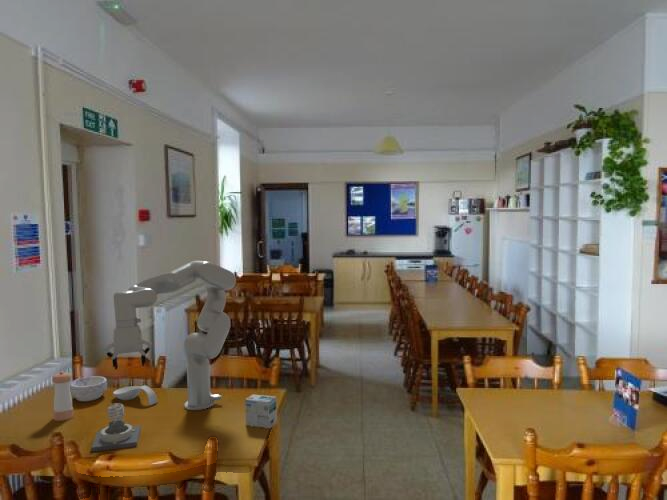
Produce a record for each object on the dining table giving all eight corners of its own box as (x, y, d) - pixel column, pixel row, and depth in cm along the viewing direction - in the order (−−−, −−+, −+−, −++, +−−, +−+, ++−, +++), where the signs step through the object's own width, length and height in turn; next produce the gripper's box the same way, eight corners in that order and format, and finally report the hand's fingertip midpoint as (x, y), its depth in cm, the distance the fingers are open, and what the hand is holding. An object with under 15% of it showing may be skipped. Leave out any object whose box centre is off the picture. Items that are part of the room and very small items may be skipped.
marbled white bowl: (98, 404, 229) (97, 386, 228) (63, 404, 229) (62, 386, 228) (113, 392, 244) (112, 375, 243) (81, 392, 244) (80, 375, 244)
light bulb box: (277, 422, 206) (277, 396, 205) (270, 429, 199) (269, 401, 199) (253, 419, 209) (252, 393, 209) (245, 426, 203) (244, 399, 202)
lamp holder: (140, 429, 201) (140, 419, 200) (136, 446, 186) (136, 435, 186) (98, 434, 197) (97, 424, 196) (91, 451, 182) (90, 440, 182)
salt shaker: (77, 415, 216) (75, 370, 214) (61, 422, 209) (59, 375, 208) (65, 413, 219) (63, 368, 217) (49, 419, 212) (47, 373, 211)
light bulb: (112, 433, 194) (110, 401, 193) (127, 432, 194) (125, 400, 194) (107, 439, 188) (104, 407, 188) (123, 438, 189) (120, 406, 188)
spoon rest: (107, 400, 234) (107, 384, 234) (129, 392, 244) (129, 377, 244) (143, 409, 222) (142, 392, 222) (165, 400, 232) (164, 385, 232)
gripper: (150, 318, 204) (153, 361, 206) (102, 323, 199) (106, 366, 201) (149, 322, 197) (153, 366, 199) (100, 327, 192) (104, 372, 194)
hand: (129, 366), depth 200 cm, fingers open, 9 cm apart
